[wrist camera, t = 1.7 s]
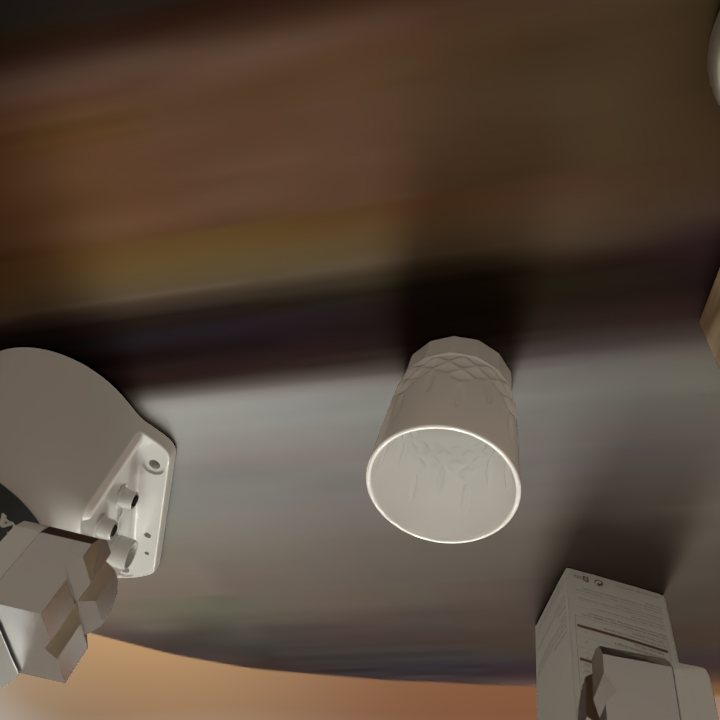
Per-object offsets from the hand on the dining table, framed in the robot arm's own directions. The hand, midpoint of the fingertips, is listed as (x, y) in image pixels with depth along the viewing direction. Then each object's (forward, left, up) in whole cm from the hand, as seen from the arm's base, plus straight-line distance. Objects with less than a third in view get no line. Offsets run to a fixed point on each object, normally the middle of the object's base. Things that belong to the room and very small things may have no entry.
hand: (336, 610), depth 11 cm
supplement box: (-33, -15, -30) cm, 46 cm away
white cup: (-15, -2, -30) cm, 33 cm away
